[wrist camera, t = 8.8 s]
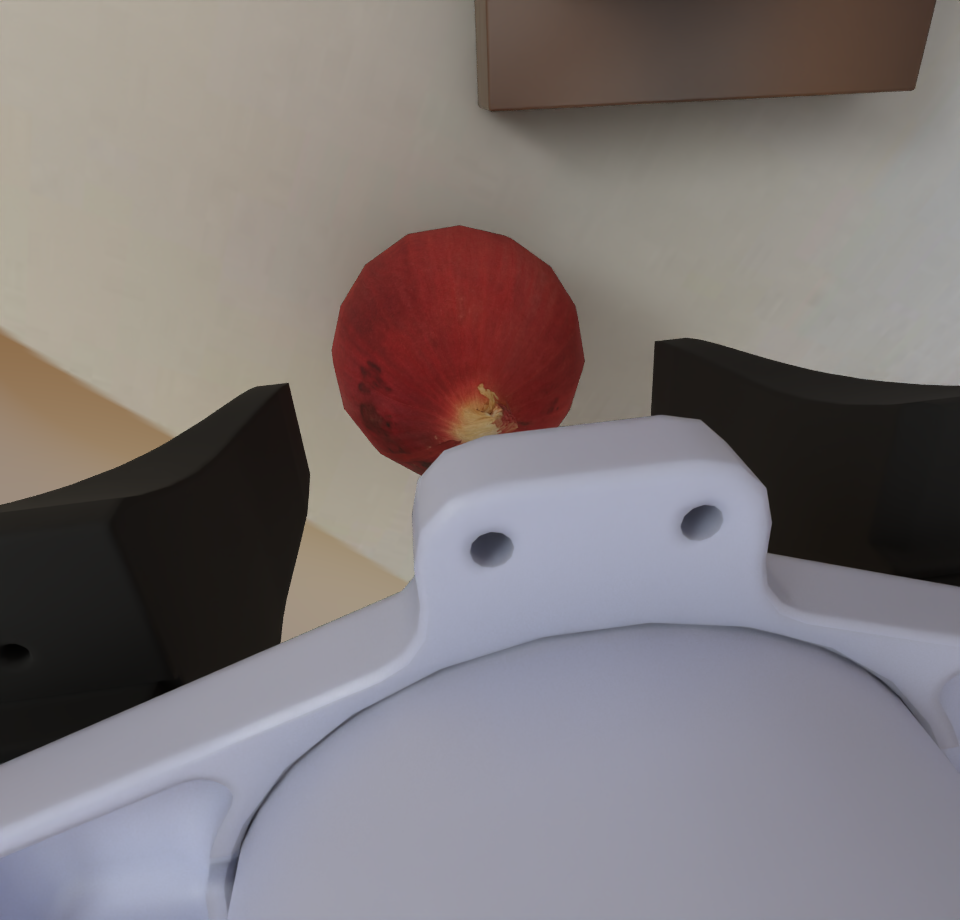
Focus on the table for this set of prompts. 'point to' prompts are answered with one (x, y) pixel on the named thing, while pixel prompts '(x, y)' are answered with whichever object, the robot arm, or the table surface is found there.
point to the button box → (692, 50)
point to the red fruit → (455, 344)
